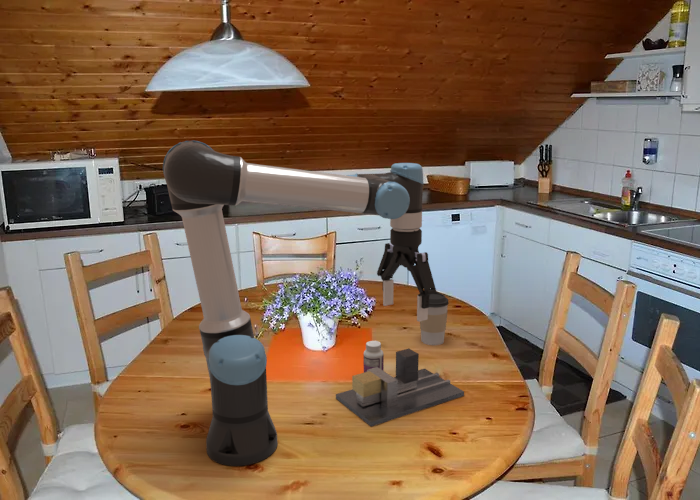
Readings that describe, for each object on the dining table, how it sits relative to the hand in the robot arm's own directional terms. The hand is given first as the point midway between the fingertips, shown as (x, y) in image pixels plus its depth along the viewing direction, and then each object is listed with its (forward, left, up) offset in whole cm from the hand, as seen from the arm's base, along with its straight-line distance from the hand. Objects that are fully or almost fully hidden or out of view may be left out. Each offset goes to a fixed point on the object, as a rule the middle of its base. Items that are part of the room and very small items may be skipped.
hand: (404, 312), depth 152 cm
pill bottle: (-2, +11, -22) cm, 24 cm away
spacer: (-13, -2, -17) cm, 21 cm away
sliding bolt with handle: (-7, -2, -20) cm, 21 cm away
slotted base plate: (-3, -2, -21) cm, 22 cm away
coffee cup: (+27, +22, -22) cm, 41 cm away
